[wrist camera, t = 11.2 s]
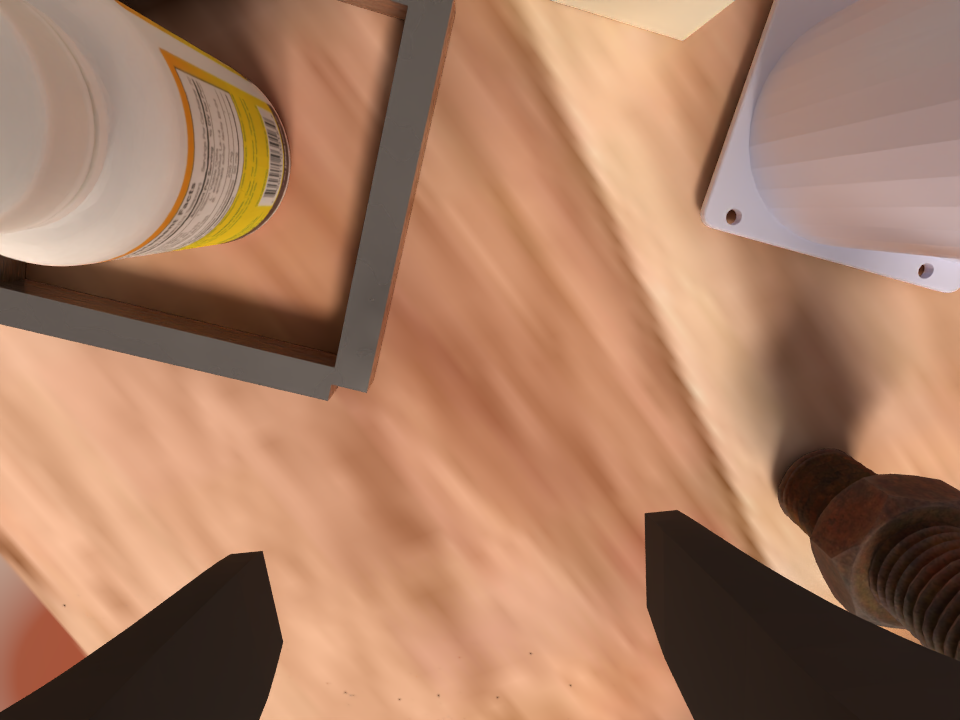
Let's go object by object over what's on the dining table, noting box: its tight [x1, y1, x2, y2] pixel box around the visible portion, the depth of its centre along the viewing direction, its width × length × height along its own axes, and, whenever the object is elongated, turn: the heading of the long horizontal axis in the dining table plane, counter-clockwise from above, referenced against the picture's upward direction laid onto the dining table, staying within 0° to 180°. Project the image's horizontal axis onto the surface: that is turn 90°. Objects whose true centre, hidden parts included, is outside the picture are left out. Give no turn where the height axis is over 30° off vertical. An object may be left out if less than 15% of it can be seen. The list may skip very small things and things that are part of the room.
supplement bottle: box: [0, 0, 290, 266], centre depth 13 cm, size 6×6×10 cm
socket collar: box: [0, 0, 455, 401], centre depth 17 cm, size 13×13×2 cm
